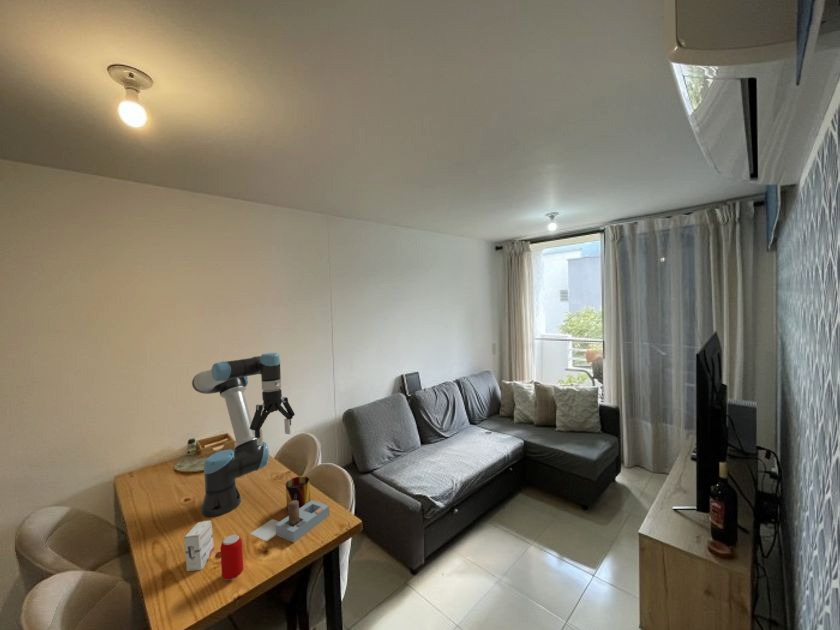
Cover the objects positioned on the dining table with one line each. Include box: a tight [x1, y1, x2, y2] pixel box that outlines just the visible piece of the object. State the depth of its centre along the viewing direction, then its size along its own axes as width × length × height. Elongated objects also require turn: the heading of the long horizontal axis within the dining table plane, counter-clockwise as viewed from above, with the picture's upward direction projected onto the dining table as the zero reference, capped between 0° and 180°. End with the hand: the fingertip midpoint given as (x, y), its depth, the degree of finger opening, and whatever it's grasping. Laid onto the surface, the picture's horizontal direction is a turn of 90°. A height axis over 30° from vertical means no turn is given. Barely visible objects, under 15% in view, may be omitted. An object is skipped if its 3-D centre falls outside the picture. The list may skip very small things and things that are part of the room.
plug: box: [287, 500, 300, 527], centre depth 129 cm, size 4×4×12 cm
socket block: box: [275, 499, 330, 544], centre depth 133 cm, size 10×18×5 cm, turn 151°
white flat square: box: [249, 518, 280, 542], centre depth 131 cm, size 10×10×1 cm
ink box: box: [183, 520, 215, 572], centre depth 116 cm, size 9×5×12 cm, turn 5°
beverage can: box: [219, 534, 244, 581], centre depth 110 cm, size 6×6×12 cm
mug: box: [285, 475, 311, 512], centre depth 144 cm, size 10×14×12 cm
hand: (274, 439), depth 143 cm, fingers open, 13 cm apart
